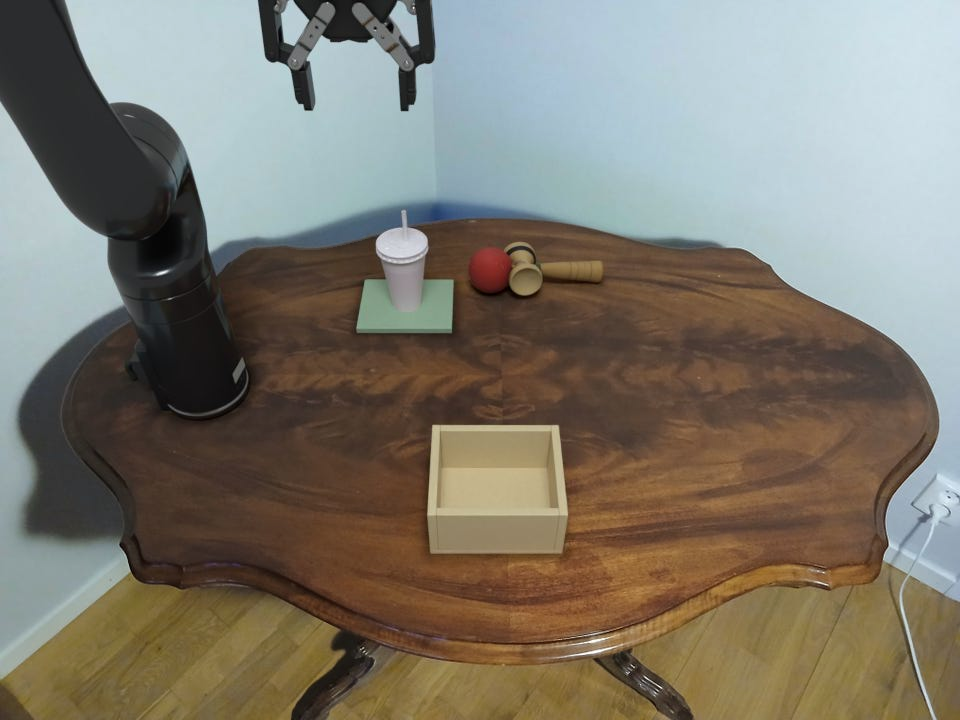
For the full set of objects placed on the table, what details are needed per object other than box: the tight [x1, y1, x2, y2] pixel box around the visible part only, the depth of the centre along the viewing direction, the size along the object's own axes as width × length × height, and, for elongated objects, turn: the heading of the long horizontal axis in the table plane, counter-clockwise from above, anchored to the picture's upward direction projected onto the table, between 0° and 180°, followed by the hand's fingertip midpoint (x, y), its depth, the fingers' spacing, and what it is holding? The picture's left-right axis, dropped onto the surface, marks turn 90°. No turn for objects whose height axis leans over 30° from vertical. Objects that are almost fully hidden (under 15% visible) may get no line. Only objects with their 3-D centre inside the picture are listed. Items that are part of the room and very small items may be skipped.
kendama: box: [467, 241, 604, 297], centre depth 97 cm, size 8×6×18 cm
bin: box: [426, 424, 569, 555], centre depth 71 cm, size 13×11×6 cm
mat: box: [356, 278, 455, 334], centre depth 95 cm, size 12×10×1 cm
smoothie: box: [375, 209, 429, 312], centre depth 90 cm, size 6×6×14 cm
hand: (357, 107), depth 66 cm, fingers open, 8 cm apart
